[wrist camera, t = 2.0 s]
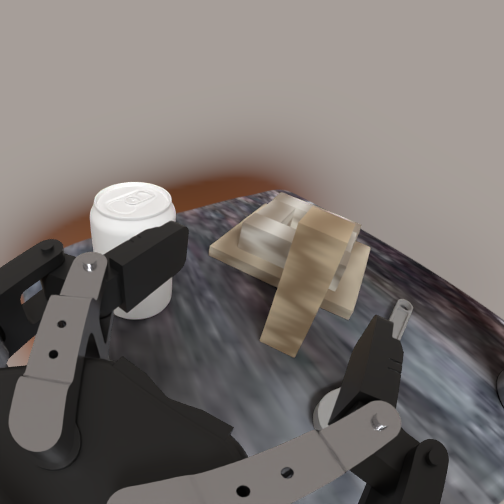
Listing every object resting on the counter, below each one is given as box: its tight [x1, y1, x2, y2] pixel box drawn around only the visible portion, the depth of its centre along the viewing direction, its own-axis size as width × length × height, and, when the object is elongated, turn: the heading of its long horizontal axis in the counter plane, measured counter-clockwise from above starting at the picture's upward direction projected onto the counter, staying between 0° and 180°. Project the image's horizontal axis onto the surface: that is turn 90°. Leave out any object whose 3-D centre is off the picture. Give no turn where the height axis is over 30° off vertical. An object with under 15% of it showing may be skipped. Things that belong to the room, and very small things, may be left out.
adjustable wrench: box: [313, 299, 413, 430], centre depth 30 cm, size 25×6×2 cm, turn 137°
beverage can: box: [90, 182, 176, 319], centre depth 28 cm, size 8×8×12 cm
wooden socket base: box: [209, 192, 371, 320], centre depth 43 cm, size 20×18×6 cm
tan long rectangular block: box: [260, 206, 355, 358], centre depth 28 cm, size 4×5×14 cm
